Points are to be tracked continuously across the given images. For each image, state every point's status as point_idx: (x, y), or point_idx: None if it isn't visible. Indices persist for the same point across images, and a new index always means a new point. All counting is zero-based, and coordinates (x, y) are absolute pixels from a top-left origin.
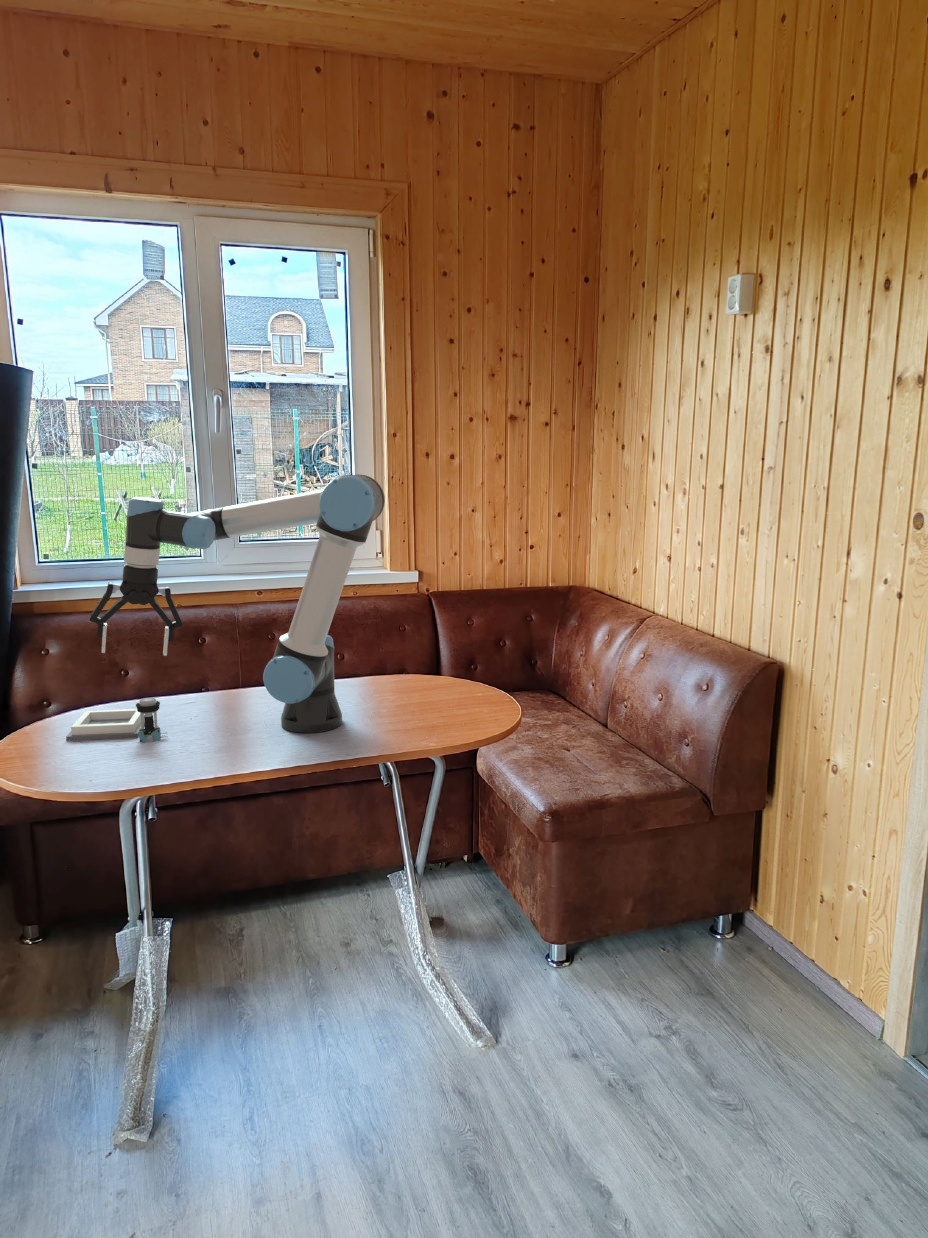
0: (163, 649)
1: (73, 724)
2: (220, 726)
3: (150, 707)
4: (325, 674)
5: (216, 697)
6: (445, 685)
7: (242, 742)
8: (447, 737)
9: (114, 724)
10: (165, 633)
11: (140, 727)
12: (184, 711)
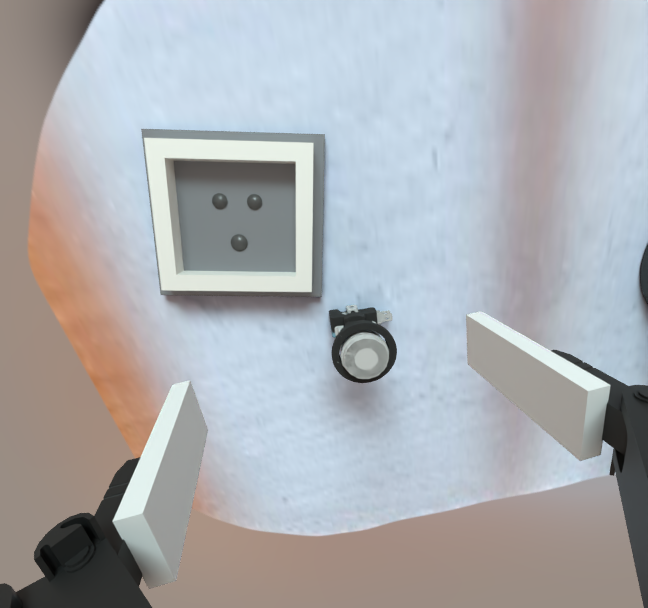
0: (478, 334)
1: (159, 270)
2: (504, 239)
3: (374, 379)
4: None
5: None
6: None
7: None
8: None
9: (265, 286)
10: (556, 439)
11: (335, 332)
12: (414, 74)
